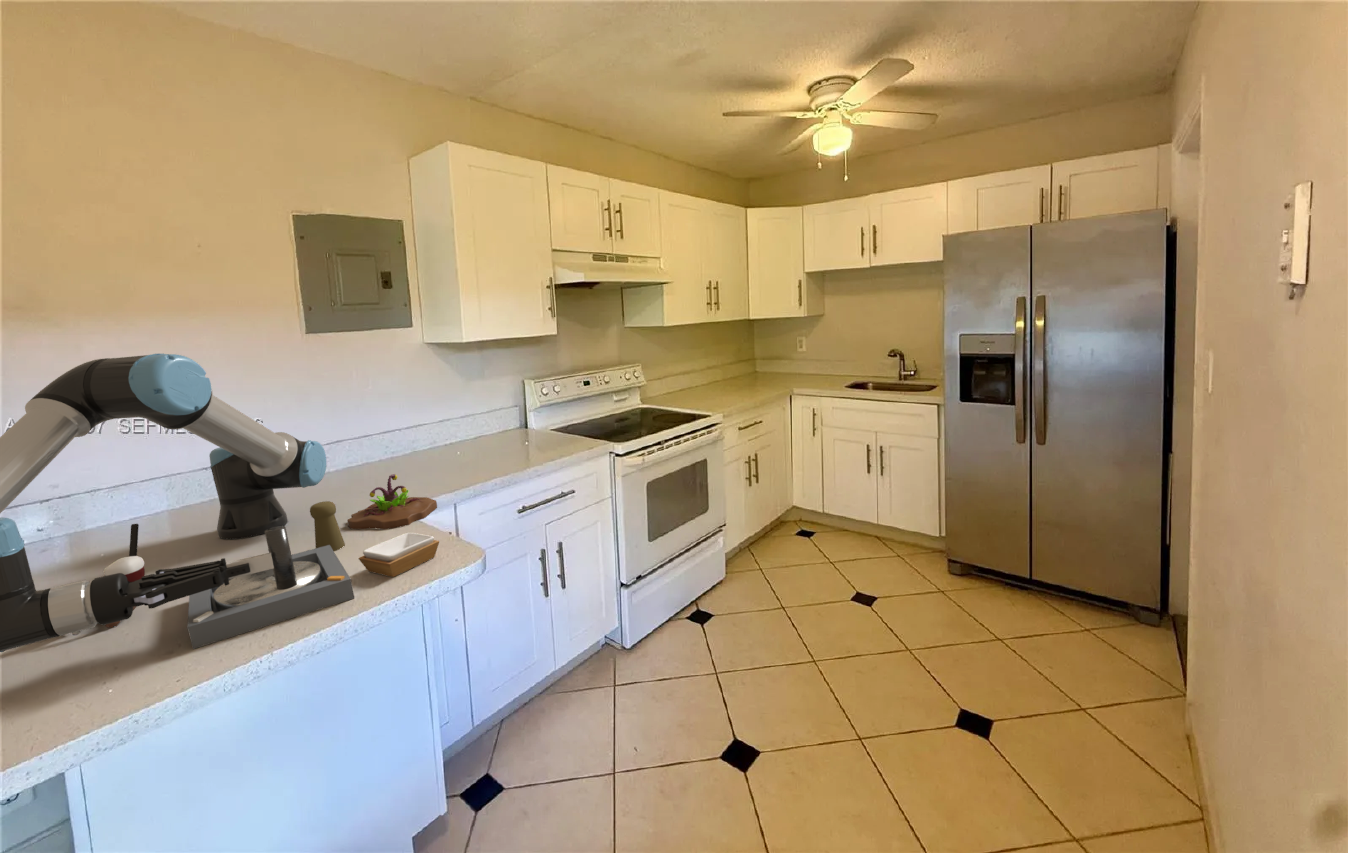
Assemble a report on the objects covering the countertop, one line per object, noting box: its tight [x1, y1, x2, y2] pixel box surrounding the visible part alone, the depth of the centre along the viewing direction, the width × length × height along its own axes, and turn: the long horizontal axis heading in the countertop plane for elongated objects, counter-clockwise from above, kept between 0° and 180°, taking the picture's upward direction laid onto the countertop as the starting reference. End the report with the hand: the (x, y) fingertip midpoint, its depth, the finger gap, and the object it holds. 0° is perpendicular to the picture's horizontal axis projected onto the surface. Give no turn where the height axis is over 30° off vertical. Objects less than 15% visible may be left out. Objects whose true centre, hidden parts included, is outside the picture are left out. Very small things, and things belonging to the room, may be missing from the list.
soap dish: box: [358, 532, 440, 578], centre depth 127 cm, size 12×10×5 cm
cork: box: [309, 500, 346, 552], centre depth 139 cm, size 6×6×11 cm
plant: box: [347, 473, 438, 530], centre depth 160 cm, size 20×20×11 cm
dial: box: [213, 525, 322, 611], centre depth 114 cm, size 17×17×13 cm
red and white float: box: [102, 523, 146, 582], centre depth 126 cm, size 10×6×12 cm, turn 156°
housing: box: [187, 545, 355, 650], centre depth 115 cm, size 24×24×4 cm
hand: (272, 560), depth 108 cm, fingers closed
